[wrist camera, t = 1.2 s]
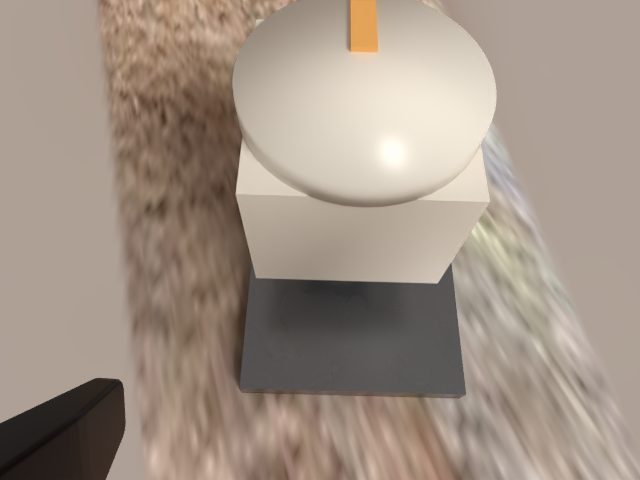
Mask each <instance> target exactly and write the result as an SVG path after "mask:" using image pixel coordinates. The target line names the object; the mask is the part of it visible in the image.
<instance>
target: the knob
mask: <svg viewBox="0 0 640 480" xmlns="http://www.w3.org/2000/svg"><path fill="white" fill-rule="evenodd" d="M232 87H233V95H234V101H235V107H236V112H237V117H238V123H239V126H240V129H241V132H242V135H243V136H242V145H241V153H240V161H239V170H238V178H237V187H236V198H237V202H238V206H239V210H240V214H241V218H242V222H243V227H244V231H245V235H246V239H247V243H248V247H249V251H250V255H251V259H252V263H253V268H254V272H255V276H256V278H268V279H302V280H336V281H369V282H403V283H437V284H438V282H439V281H440V279H441V277H442V276H443V274H444V273H445V271H446V270H447V268H448V267H449V265H450V263H451V262H452V260H453V259H454V257H455V256H456V254H457V253H458V251H459V249H460V248H461V246H462V245H463V243H464V242H465V240H466V239H467V237H468V235H469V234H470V232H471V231H472V229H473V228H474V226H475V225H476V223H477V221H478V220H479V218H480V217H481V215H482V214H483V212H484V211H485V209H486V207H487V206H488V204H489V203H490V199H489V193H488V187H487V181H486V175H485V168H484V162H483V156H482V150H481V142H482V140H483V138H484V136H485V134H486V132H487V130H488V128H489V126H490V124H491V122H492V119H493V115H494V111H495V108H496V94H497V93H496V84H495V79H494V75H493V72H492V68H491V66H490V64H489V62H488V60H487V57H486V56H485V54H484V53H483V51H482V50H481V48H480V46H479V45H478V44H477V43H476V41H474V39H473V38H472V37H471V36H470V35H469V34H468V33H467V32H466V31H465V30H464V29H463V28H462V27H461V26H460V25H458V24H457V23H456V22H454V21H453V20H451V19H450V18H449V17H447V16H446V15H444V14H442V13H440V12H439V11H437V10H435V9H433V8H431V7H429V6H427V5H425V4H422V3H420V2H417V1H414V0H299V1H296V2H294V3H291V4H289V5H287V6H285V7H283V8H282V9H280V10H278V11H276V12H275V13H273V14H272V15H270V16H269V17H267V18H266V19H265V20H257V19H256V27H255V29H254V30H253V31H252V33H251V34H250V35H249V36H248V37H247V39H246V40H245V42H244V44H243V45H242V47H241V49H240V51H239V53H238V56H237V58H236V61H235V65H234V70H233V80H232Z"/></svg>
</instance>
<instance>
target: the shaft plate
mask: <svg viewBox="0 0 640 480" xmlns="http://www.w3.org/2000/svg"><path fill="white" fill-rule="evenodd" d="M239 389H240V390H241V392H242V393H279V394H316V395H354V396H391V397H428V398H461V397H462V396H464V395H466V391H465V382H464V373H463V364H462V355H461V346H460V337H459V328H458V319H457V310H456V301H455V292H454V283H453V274H452V265H451V263H450V265H449V267H448V268H447V270H446V271H445V273H444V274H443V276H442V277H441V279H440V281H439V282H438V284H437V283H403V282H369V281H336V280H302V279H268V278H256V276H255V272H254V268H253V263H252V260H251V270H250V281H249V291H248V302H247V312H246V323H245V334H244V344H243V355H242V365H241V376H240V386H239Z"/></svg>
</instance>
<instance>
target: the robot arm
mask: <svg viewBox="0 0 640 480" xmlns="http://www.w3.org/2000/svg"><path fill="white" fill-rule="evenodd" d="M125 423H126V422H125V404H124V388H123V384H122V382H121V381H120V380H118V379H108V378H95V379H93V380H91V381H89V382H87V383H84V384H82V385H80V386H78V387H76V388H74V389H72V390H70V391H67V392H65V393H63V394H61V395H59V396H57V397H55V398H53V399H51V400H49V401H46V402H44V403H42V404H40V405H38V406H36V407H34V408H32V409H30V410H28V411H25V412H24V413H21V414H19V415H17V416H15V417H13V418H11V419H8V420H6V421H4V422H2V423H0V480H106V477H107V475H108V473H109V470H110V468H111V465H112V463H113V460H114V458H115V455H116V452H117V450H118V448H119V445H120V443H121V440H122V438H123V435H124V431H125Z"/></svg>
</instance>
